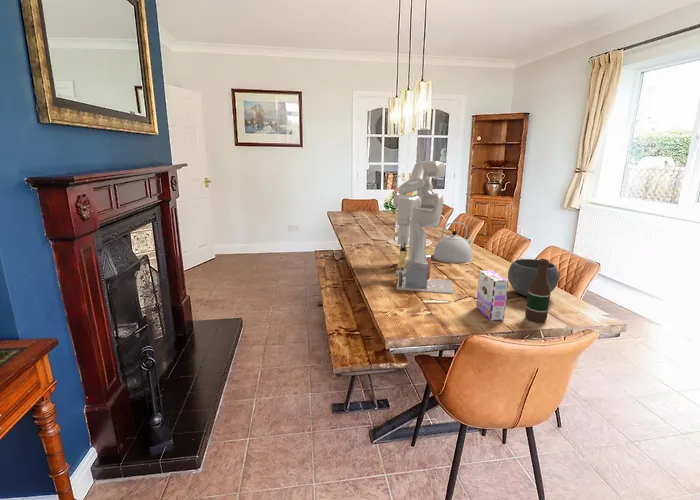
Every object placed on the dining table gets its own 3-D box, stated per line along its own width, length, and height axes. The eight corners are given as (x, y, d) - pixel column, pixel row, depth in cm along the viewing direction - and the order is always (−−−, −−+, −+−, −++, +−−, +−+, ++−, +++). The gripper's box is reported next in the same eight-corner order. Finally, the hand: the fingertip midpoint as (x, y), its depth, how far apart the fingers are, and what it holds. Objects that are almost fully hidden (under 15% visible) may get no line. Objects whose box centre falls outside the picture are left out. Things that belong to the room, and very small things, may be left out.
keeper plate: (406, 264, 191) (407, 250, 189) (405, 268, 184) (406, 254, 182) (398, 263, 191) (399, 250, 190) (397, 267, 185) (398, 253, 183)
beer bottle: (537, 324, 141) (546, 263, 135) (520, 317, 148) (527, 258, 142) (551, 320, 145) (560, 261, 139) (533, 313, 151) (541, 256, 145)
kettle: (460, 251, 247) (463, 218, 242) (482, 261, 226) (486, 224, 221) (426, 254, 239) (429, 219, 234) (446, 264, 219) (449, 226, 213)
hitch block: (450, 281, 189) (452, 263, 187) (453, 293, 172) (454, 274, 170) (398, 277, 194) (399, 260, 192) (396, 289, 177) (397, 270, 175)
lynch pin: (429, 278, 184) (430, 256, 181) (429, 282, 179) (430, 259, 176) (396, 276, 187) (397, 255, 184) (395, 280, 182) (396, 257, 179)
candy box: (504, 321, 144) (509, 280, 140) (489, 321, 144) (494, 280, 140) (488, 306, 157) (492, 269, 153) (475, 307, 157) (478, 269, 153)
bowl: (566, 300, 165) (571, 268, 161) (527, 305, 159) (532, 271, 155) (532, 285, 184) (536, 256, 180) (496, 289, 178) (500, 259, 174)
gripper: (398, 219, 196) (396, 252, 201) (395, 223, 182) (394, 260, 187) (412, 219, 195) (410, 253, 199) (411, 224, 181) (409, 261, 185)
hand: (402, 256), depth 193 cm, fingers closed
